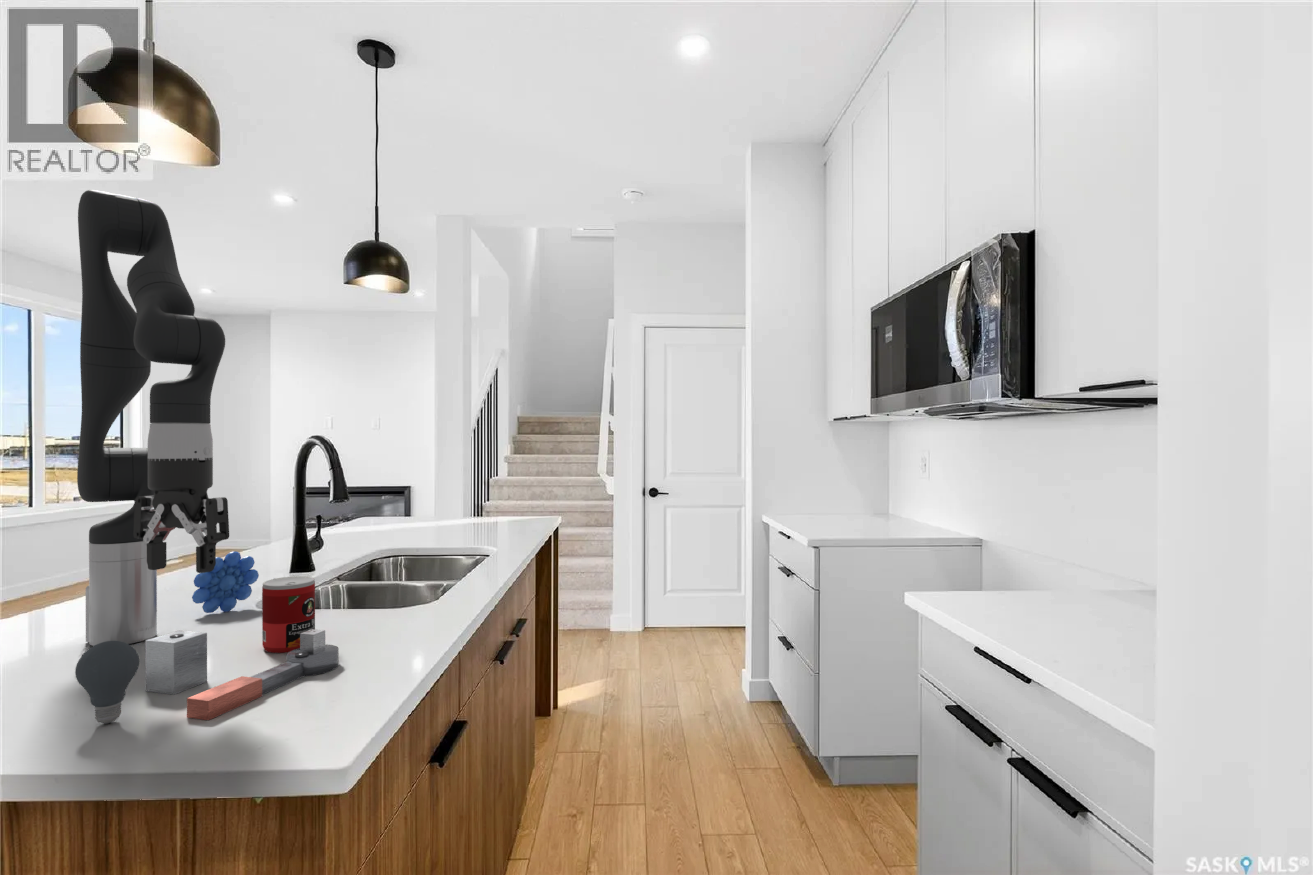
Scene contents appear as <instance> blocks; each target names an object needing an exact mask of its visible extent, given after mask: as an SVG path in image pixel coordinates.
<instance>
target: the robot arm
mask: <svg viewBox="0 0 1313 875" xmlns="http://www.w3.org/2000/svg"><path fill="white" fill-rule="evenodd" d="M77 208H78V209H77V226H78V227H77V228H78V243H79V244H78V245H79V255H80V256H79V257H80V270H81V271H80V272H81V274H80V275H81V293H82V294H81V295H82V296H81V297H82V298H81V317H80V318H81V321H80V339H79V340H80V341H79V343H80V344H79V346H80V348H79V352H80V353H79V354H80V355H79V357H80V358H79V361H80V362H79V366H80V367H79V368H80V388H81V419H80V420H81V421H80V432H79V444H78V445H79V448H78V456H77V459H78V460H77V469H76V470H77V471H76V472H77V478H76V480H77V490H78V494H79V495H80V498H81V499H82V500H83V501H85V502H86V503H100V502H101V503H106V502H126V501H133V502H134V503H133V505H132V506H131V508H130V509H128V510H127V511H125V512H123V513H122V514H120V515H118V516H115V517H113V518H109V519H107V520H104V521H101V522H98V523H96V524H94V525H92V526H91V527H90V528H89V531H88V579H89V580H88V585H87V586H86V587H85V642H87V643H88V644H89V645H90V646H91V647H93V646H95V645H97V644H99V643H102V642H106V641H122V642H125V643H127V644H129V645H131V644H134V643H139V642H143V641H145V640H148V639H152V638H155V637H157V634H158V631H157V630H158V625H157V624H158V622H157V621H158V618H157V617H158V585H157V584H158V570H163V569H165V568H166V567H167V541H166V540H167V538H168V536H169V534H170V533H171V532H172V531H174V530H175V529H182V530H183V529H184V530H185V532H186V533H187V534H189V535H192V537H193V540H194V541H195V543H196V544H197V546H196V547H195V571H196V573H197V574H199V573H206V572H210V571H213V569H214V567H215V564H216V560H215V559H216V557H217V554H216V552H217V551H216V550H217V549H216V546H217V543H220V542H222V541H226V540H228V539H229V538H230V521H229V519H230V518H229V502H228V499H227V497H226V496H222V497H213V498H212V497H211V498H209V495H208V490H209V489H210V488H212V487H213V485H214V477H213V476H214V470H213V469H214V468H213V467H214V460H213V459H214V458H213V457H214V456H213V454H214V452H213V451H214V448H213V447H214V446H213V444H214V441H213V433H212V427H211V398H212V391H213V387H214V382H215V378H216V374H217V372H218V369H219V365H220V364H221V360H222V358H223V354H224V351H225V348H226V336H225V333H224V330H223V327H222V326H221V325H220V323H218V322H217V321H216V320H215V319H212V318H210V317H205V316H198V315H195V312H196V311H195V309H196V308H195V305H194V301H193V299H192V296H191V295H190V293H189V291H188V289H187V286H186V284H185V283H184V281H183V279H182V277H181V274H180V270H179V267H178V262H177V261H178V260H177V257H176V251H175V247H174V243H173V239H172V238H173V237H172V234H171V228H170V224H169V222H168V219H167V217H166V216H167V215H166V214H165V212H164V210H163V209H162V208H161V206H160V205H158V203H155V202H153V201H150V200H148V199H147V200H146V199H143V198H139V197H133V196H129V195H123V194H117V193H112V192H108V191H101V190H96V189H87V190H85V191H83V193H82V194H81V196H80V198H79V202H78V207H77ZM108 253H114V254H121V255H122V254H123V255H128V256H134V257H135V256H137V257H141V258H140V259H139V260H137V261H136V262H135V263H134V264H133V265H132V267H131V268H130V269H129V271H128V274H127V276H126V277H127V278H126V286H127V291H128V293H129V294H128V295H129V296H130V300H131V301H132V303H133V306H134V308H133V307H132V305H131V303H130V302H129V301H128V300H127V298H126V297H125V295H124V294H123V292H122V291H121V289H120V286H118V284H117V281H116V280H115V278H114V275H113V272H112V270H111V267H110V266H111V265H110V263H109V262H110V261H109V254H108ZM135 310H136V311H135ZM152 362H153V363H159V364H174V365H184V366H185V365H186V366H191V369H190V371H189V372H188V374H187V376H185V377H183V378H180V379H170V380H164V381H163V380H162V381H158V382H156V383H153V385H151V387H150V390H149V428H148V429H149V430H148V434H147V447H104V444H105V441H106V438H107V435H108V433H109V431H110V429H111V428H112V425H114V423H115V421H116V419H117V417H119V415H120V413H121V412H122V411H123V410H124V409H125V408H126V407H127V405H128V404H129V403H131V401H132V400H133V399H134V398H135V397H136V396H137V395H138V393H140V391H141V390H142V388H143V387H144V386H145V385H146V383H147V382H148V379H149V378H150V375H151V370H152V369H151V367H152V366H151V365H152ZM217 524H218V525H217ZM217 526H218V528H217ZM218 529H219V530H218ZM204 534H205V535H204Z"/></svg>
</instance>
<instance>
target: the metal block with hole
mask: <svg viewBox="0 0 1313 875" xmlns="http://www.w3.org/2000/svg"><path fill="white" fill-rule="evenodd" d="M144 641H145V655H144V656H145V692H151V693H157V694H167V695H176V694H178V693H181V692H184V691H186V690H189V689H192V688H195V687H197V686H199V685H202V684H206V683H208V633H207V632H202V631H190V630H177V631H172V632H169V633H166V634H163V635H160V636H154V637H152V638H150V639H147V640H144Z"/></svg>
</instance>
